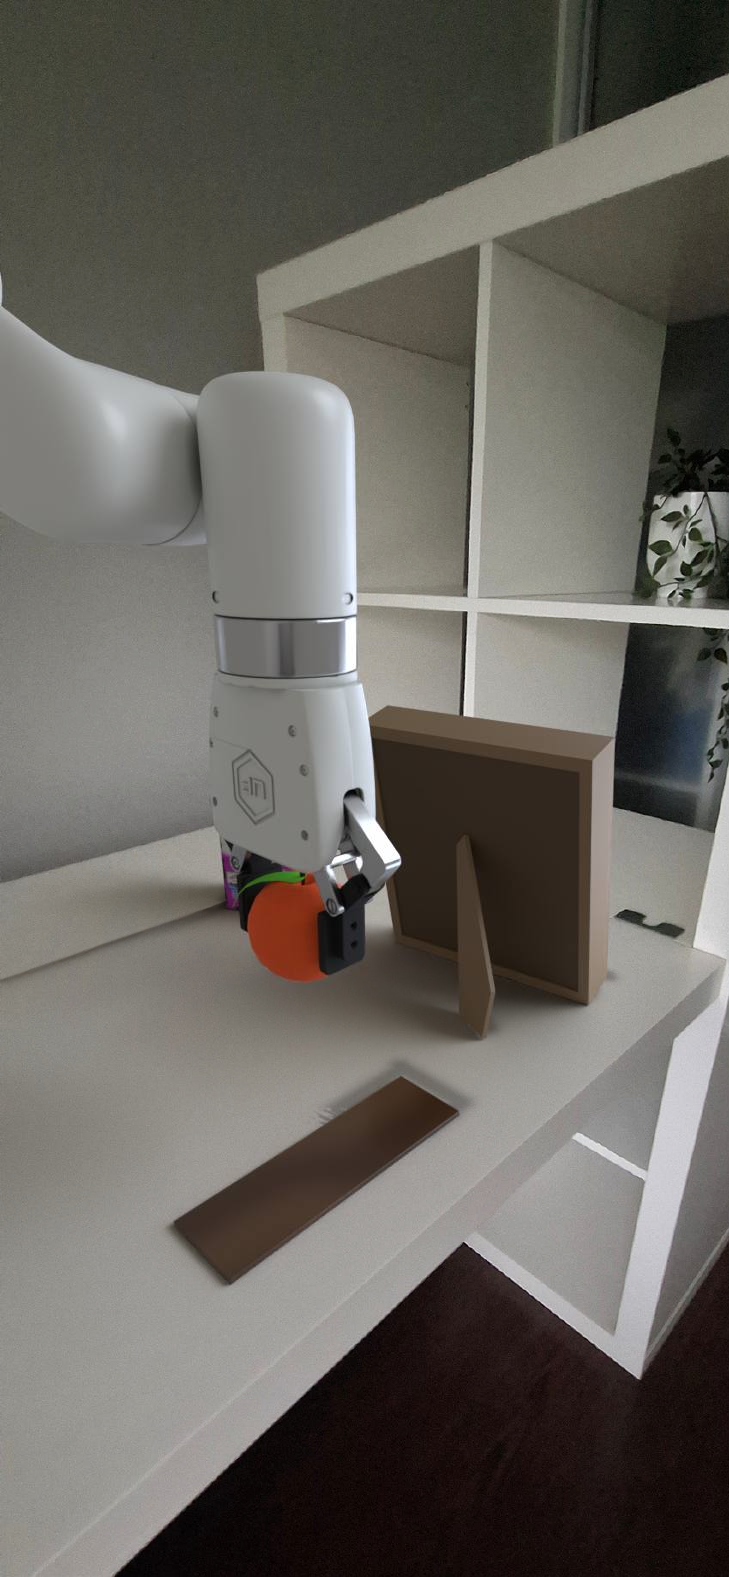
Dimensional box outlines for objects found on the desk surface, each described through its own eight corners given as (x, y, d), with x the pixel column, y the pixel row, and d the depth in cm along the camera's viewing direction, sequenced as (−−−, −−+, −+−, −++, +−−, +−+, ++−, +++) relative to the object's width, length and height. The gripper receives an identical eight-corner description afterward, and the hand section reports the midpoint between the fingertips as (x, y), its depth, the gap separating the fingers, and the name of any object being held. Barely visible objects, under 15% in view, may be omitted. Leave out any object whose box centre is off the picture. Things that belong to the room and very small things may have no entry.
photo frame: (417, 927, 86) (421, 696, 75) (605, 985, 74) (639, 725, 64) (331, 983, 74) (322, 721, 64) (537, 1062, 63) (566, 760, 53)
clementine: (218, 997, 47) (209, 889, 44) (252, 944, 53) (246, 847, 51) (348, 1007, 46) (347, 899, 43) (367, 953, 53) (368, 855, 50)
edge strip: (173, 1225, 48) (173, 1221, 47) (401, 1079, 61) (401, 1075, 61) (230, 1284, 44) (230, 1279, 44) (459, 1115, 57) (459, 1110, 57)
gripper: (140, 641, 44) (173, 920, 52) (345, 676, 34) (351, 1022, 41) (248, 633, 49) (265, 888, 57) (456, 661, 39) (444, 972, 46)
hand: (301, 942), depth 49 cm, fingers closed on clementine, 7 cm apart
